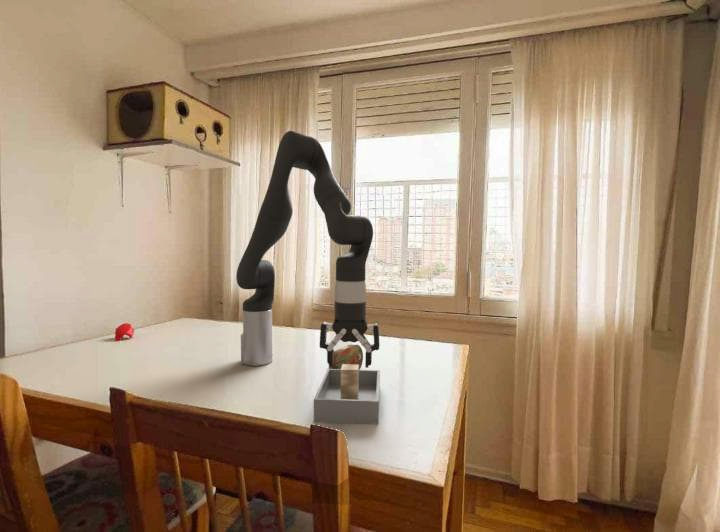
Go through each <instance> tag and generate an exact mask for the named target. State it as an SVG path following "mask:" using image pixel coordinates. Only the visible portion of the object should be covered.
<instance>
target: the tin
mask: <svg viewBox="0 0 720 532" xmlns="http://www.w3.org/2000/svg"><path fill="white" fill-rule="evenodd" d="M363 361H364V353H363V348H362V347H361V346H360V345H359V344H348V345H345V346H343V347H340V348H339V349H336V350H334V365H333V366H330V364H328V369H341V368H342V364H354V365H359V370H361V367H362V366H363V363H364V362H363Z"/></svg>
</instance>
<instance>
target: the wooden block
mask: <svg viewBox="0 0 720 532" xmlns="http://www.w3.org/2000/svg"><path fill="white" fill-rule="evenodd" d="M358 397H359V365H354V364H342V368H341V399H354V400H358Z"/></svg>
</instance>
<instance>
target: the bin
mask: <svg viewBox="0 0 720 532" xmlns="http://www.w3.org/2000/svg"><path fill="white" fill-rule="evenodd" d="M380 376H381V370H380V369H378V370H376V369H360V370H359V397H358V400H354V399H341V369H329V368H327V370H326V372H325V374H324V376H323V378H322V381H321V383H320V385H319V387H318V390H317V391H316V394H315V396H314V397H313V423H335V424H337V423H338V424H362V425H363V424H364V425H379V419H380V418H379V417H380V416H379V413H380V389H381V388H380V387H381V386H380V383H381V381H380V379H381V378H380Z"/></svg>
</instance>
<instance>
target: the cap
mask: <svg viewBox="0 0 720 532" xmlns="http://www.w3.org/2000/svg"><path fill="white" fill-rule="evenodd" d="M114 330H115V331H114V340H115V342H118V341H120V340H121V339H122V338H123V337H124V336H128V337H129V339H132V338H133V335H134V334H135V329H134V327H133V326H132V324H130V323H128V322H125V323H122V324H121V325H119V326H117V327H116V328H115V329H114Z"/></svg>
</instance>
